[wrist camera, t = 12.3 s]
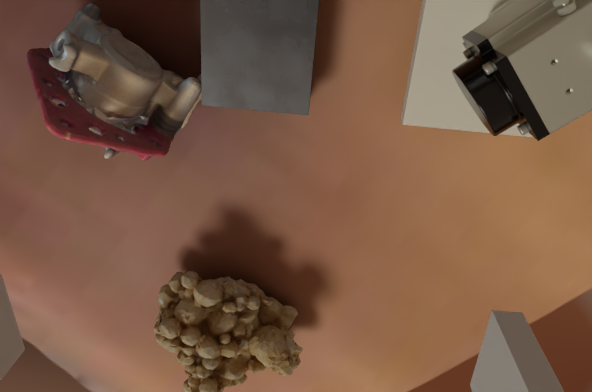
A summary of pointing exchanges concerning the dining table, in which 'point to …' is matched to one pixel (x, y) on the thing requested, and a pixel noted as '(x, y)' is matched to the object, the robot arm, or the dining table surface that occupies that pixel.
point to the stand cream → (444, 66)
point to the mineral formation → (224, 330)
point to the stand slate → (258, 54)
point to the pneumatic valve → (529, 66)
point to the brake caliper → (109, 90)
